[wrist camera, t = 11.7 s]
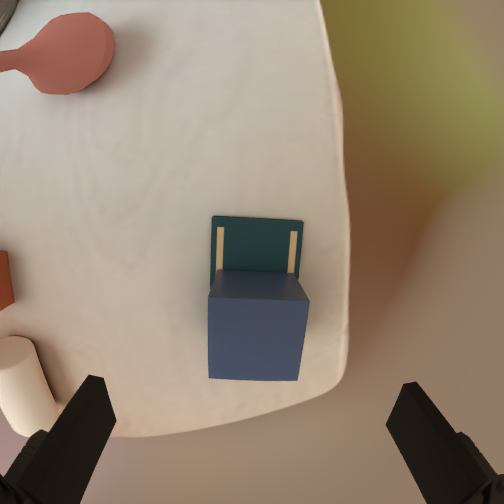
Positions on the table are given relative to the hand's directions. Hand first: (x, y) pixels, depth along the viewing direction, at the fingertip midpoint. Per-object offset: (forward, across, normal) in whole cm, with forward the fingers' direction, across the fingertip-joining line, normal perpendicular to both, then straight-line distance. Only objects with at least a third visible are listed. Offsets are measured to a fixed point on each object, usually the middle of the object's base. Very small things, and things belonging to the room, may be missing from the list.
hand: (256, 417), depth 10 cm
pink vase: (+14, -16, +22) cm, 30 cm away
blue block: (+13, 0, 0) cm, 13 cm away
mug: (+14, -28, -13) cm, 34 cm away
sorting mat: (+14, 0, 0) cm, 14 cm away
